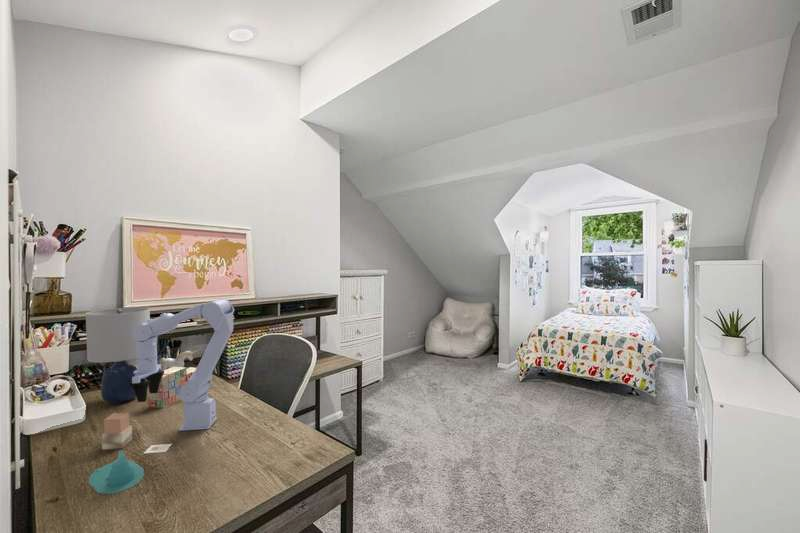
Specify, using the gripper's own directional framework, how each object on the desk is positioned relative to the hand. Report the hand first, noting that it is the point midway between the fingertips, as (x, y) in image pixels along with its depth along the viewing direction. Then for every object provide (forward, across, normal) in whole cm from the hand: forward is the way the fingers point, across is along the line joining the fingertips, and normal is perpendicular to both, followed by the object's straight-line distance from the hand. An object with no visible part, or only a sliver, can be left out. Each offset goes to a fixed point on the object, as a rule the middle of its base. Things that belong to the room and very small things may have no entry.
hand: (148, 397), depth 126 cm
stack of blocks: (+10, -26, -2) cm, 28 cm away
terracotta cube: (+6, +12, -3) cm, 14 cm away
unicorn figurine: (+10, -53, -12) cm, 55 cm away
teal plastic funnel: (+10, +30, +7) cm, 32 cm away
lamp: (+10, -26, -23) cm, 36 cm away
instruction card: (+10, +17, +11) cm, 23 cm away
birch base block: (+10, +12, -3) cm, 16 cm away
